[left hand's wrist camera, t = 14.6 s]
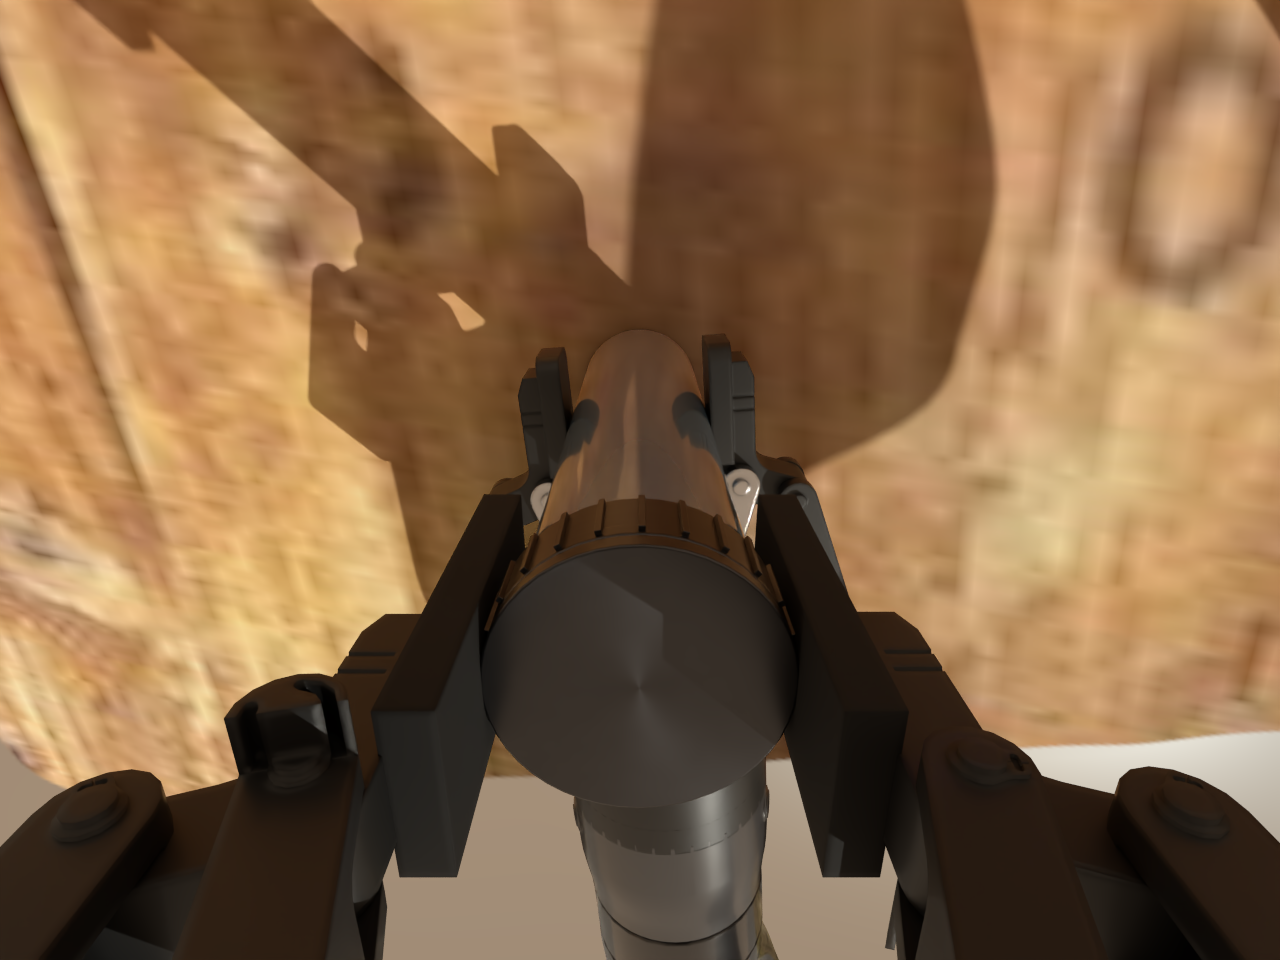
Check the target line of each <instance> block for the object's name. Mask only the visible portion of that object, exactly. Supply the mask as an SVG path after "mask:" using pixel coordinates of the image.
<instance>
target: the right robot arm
mask: <svg viewBox="0 0 1280 960" xmlns="http://www.w3.org/2000/svg"><path fill="white" fill-rule="evenodd" d="M702 357H703V379H704V401H705V410H706V413H707V417H708V420H709V423H710V426H711V430H712V433H713V436H714V439H715V443H716V446H717V449H718V452H719V456H720V459H721V462H722V465H723V469H724V472H725V475H726V478H727V482H728V485H729V488H730V491H731V495H732V498H733V501H734V504H735V507H736V511H737V514H738V517H739V520H740V524H741V527H742V530H743V533H744V537H745V536H746V532H747V529H748V526H749V523H750V520H751V516H752V513H753V510H754V507H755V504H758V494H795V495H796V497H797V498H798V500H799V502H800V504H801V506H802V508H803V510H804V512H805V514H806V516H807V517H808V519H809V521H810V523H811V525H812V527H813V529H814V531H815V533H816V535H817V537H818V538H819V540H820V542H821V544H822V546H823V548H824V550H825V552H826V554H827V556H828V558H829V559H830V561H831V563H832V565H833V567H834V569H835V571H836V573H837V575H838V577H839V578H840V580H841V582H842V584H843V586H844V588H845V590H846V592H847V589H846V586H845V583H844V579H843V576H842V573H841V570H840V567H839V563H838V560H837V557H836V554H835V551H834V547H833V544H832V541H831V538H830V535H829V532H828V528H827V525H826V522H825V519H824V516H823V512H822V509H821V506H820V503H819V500H818V496H817V494H816V491H815V490H814V488H813V486H812V485H811V484H810V483H809V482H808V481H807V479H806V478H805V475H804V472H803V470H802V468H801V466H800V465H799V463H798V462H797V461H796V460H795V459H793V458H790V457H780V458H777V459H774V458H770V457H767V456H764V455H761V454H759V453H758V452H756V450H755V409H754V408H755V397H754V375H753V373H752V371H751V369H750V366H749V364H748V362H747V360H746V358H745V357H744V355H743V354H742V352H741V351H738V352H731V347H730V342H729V340H728V339H727V337H726V335H725V334H715V335H702ZM518 399H519V406H520V413H521V420H522V425H523V433H524V440H525V446H526V453H527V460H528V467H529V471H527V472H526V473H524V474H523V475H520V476H518V477H516V478H513V479H512V478H505V479H501V480H499V481H498V482H497V483H496V484H495V485H494V487H493V489H492V491H491V493H490V494H521V499H522V514H523V526H524V525H527V524H529V523H531V522H534V521H536V520H539V522H540V519H541V515H542V512H543V509H544V506H545V503H546V499H547V496H548V493H549V490H550V487H551V483H552V480H553V477H554V474H555V470H556V467H557V464H558V461H559V458H560V454H561V451H562V448H563V445H564V442H565V438H566V435H567V432H568V429H569V426H570V422H571V419H572V416H573V407H572V399H571V390H570V382H569V374H568V365H567V357H566V352H565V348H564V347H558V348H545V349H542V350H541V351H540V353H539V354H538V356H537V357H536V368H529V369H528V371H527V372H526V374H525V375H524V377H523V379H522V382H521V386H520V390H519V394H518ZM847 594H848V592H847ZM848 596H849V595H848ZM573 809H574V815H575V820H576V825H577V826H578V828H579V830H580V835H581V840H582V845H583V850H584V853H585V856H586V859H587V862H588V866H589V869H590V871H591V874H592V877H593V881H594V886H595V891H596V898H597V905H598V912H599V919H600V927H601V936H602V941H603V946H604V950H605V954H606V959H607V960H779V959H778V957H777V954H776V952H775V950H774V947H773V944H772V942H771V939H770V936H769V934H768V932H767V929H766V927H765V925H764V924H763V921H762V875H761V865H762V858H763V853H764V848H765V841H766V825H767V818H768V812H769V790H768V787H767V785H766V757H765V758H764V759H763V760H762V761H761V762H760V763H759V764H758V765H757V766H756V767H754V768H753V769H752V770H751V771H749V772H748V773H747V774H746V775H744V776H743V777H741V778H740V779H738V780H737V781H735V782H733V783H732V784H730V785H729V786H727V787H725V788H722V789H720V790H718V791H716V792H714V793H712V794H709V795H707V796H704V797H701V798H698V799H695V800H692V801H688V802H684V803H680V804H675V805H668V806H661V807H646V808H632V807H617V806H611V805H605V804H599V803H595V802H592V801H588V800H584V799H581V798H578V797H574V804H573Z"/></svg>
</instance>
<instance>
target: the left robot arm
mask: <svg viewBox="0 0 1280 960" xmlns="http://www.w3.org/2000/svg"><path fill="white" fill-rule="evenodd" d="M524 549H525V543H524V528H523V514H522V499H521V494H484V496H483V498H482V500H481V501H480V503H479V505H478V507H477V509H476V511H475V513H474V515H473V517H472V519H471V520H470V522H469V524H468V526H467V528H466V530H465V532H464V534H463V536H462V538H461V540H460V541H459V543H458V545H457V547H456V549H455V551H454V553H453V555H452V557H451V559H450V561H449V562H448V564H447V566H446V568H445V570H444V572H443V574H442V576H441V578H440V580H439V581H438V583H437V585H436V587H435V589H434V591H433V593H432V595H431V597H430V599H429V601H428V602H427V604H426V606H425V608H424V610H423V612H422V614H385V615H384V616H382V617H381V618H380V619H378V620H377V621H376V622H374V623H373V624H372V625H370V626H369V627H368V628H366V629H365V630H364V631H362V632H361V634H360V636H359V637H358V639H357V640H356V642H355V643H354V645H353V646H352V648H351V650H350V651H349V656H346V657H345V659H344V661H343V662H342V664H341V665H340V667H339V668H338V673H337V674H335V675H334V676H333V677H330V676H327V675H323V674H297V675H293V676H289V677H285V678H281V679H276V680H274V681H271V682H269V683H267V684H265V685H263V686H260V687H258V688H256V689H254V690H252V691H251V692H249V693H248V694H247V695H245V696H244V697H243V698H241V699H240V700H239V701H237V702H236V703H235V704H234V705H233V707H232V708H231V709H230V711H229V712H228V714H227V715H226V716H225V718H224V721H225V725H226V728H227V732H228V736H229V739H230V743H231V747H232V750H233V754H234V758H235V761H236V765H237V769H238V772H239V777H238V779H235V780H232V781H229V782H225V783H222V784H219V785H215V786H211V787H206V788H202V789H198V790H194V791H189V792H185V793H181V794H177V795H172V796H168V797H166V796H165V793H164V790H163V787H162V783H161V781H160V780H158V779H157V778H156V777H155V776H154V775H153V774H152V773H150V772H145V771H139V770H133V769H131V770H123V771H116V772H109V773H105V774H102V775H99V776H96V777H94V778H91V779H88V780H85V781H82V782H80V783H78V784H76V785H74V786H72V787H71V788H69V789H67V790H65V791H63V792H61V793H60V794H58V795H56V796H54V797H53V798H52V799H50V800H49V801H48V802H47V803H46V804H44V805H43V806H42V807H41V808H39V809H38V810H37V811H36V812H35V813H33V814H32V815H31V816H30V817H29V818H28V819H27V820H26V821H25V822H24V823H23V824H22V825H21V826H20V827H19V828H18V829H17V830H16V831H15V832H14V833H13V835H12V836H11V837H10V838H9V839H8V840H7V841H6V842H5V843H4V844H3V845H2V846H1V847H0V960H382V959H383V947H384V936H385V925H386V913H387V904H386V897H385V890H384V885H383V877H384V874H385V872H386V869H387V866H388V864H389V861H390V858H391V856H392V853H393V850H394V848H395V854H396V860H397V865H398V871H399V877H457V875H458V871H459V867H460V864H461V860H462V856H463V852H464V849H465V845H466V841H467V838H468V834H469V830H470V826H471V823H472V819H473V815H474V811H475V808H476V804H477V800H478V797H479V793H480V789H481V785H482V782H483V778H484V774H485V771H486V767H487V763H488V759H489V756H490V752H491V748H492V745H493V741H494V737H495V731H494V729H493V727H492V725H491V723H490V721H489V719H488V716H487V713H486V710H485V707H484V702H483V693H482V683H481V672H480V662H481V656H482V649H483V646H484V643H485V640H486V637H487V636H485V635H484V629H485V626H486V623H487V620H488V618H489V615H490V612H491V609H492V606H493V604H494V601H495V598H496V595H497V593H498V592H499V590H500V587H501V584H502V581H503V579H504V576H505V573H506V570H507V568H508V565H509V563H510V561H511V560H512V561H514V562H516V561H517V559H518V558H519V556H520V555H521V554H522V552H523V551H524ZM755 551H756V552H757V553H758V554H759V556H760V558H761V559H762V561H763V562H764V564H765V565H768V564H771V566H772V568H773V571H774V574H775V576H776V579H777V582H778V585H779V587H780V590H781V593H782V596H783V599H784V601H785V604H786V605H785V607H786V610H787V613H788V615H789V618H790V621H791V624H792V627H793V629H794V632H795V640H794V643H795V647H796V650H797V654H798V662H799V678H798V689H797V698H796V705H795V708H794V711H793V713H792V716H791V719H790V722H789V724H788V726H787V727H786V729H785V731H784V735H785V739H786V742H787V746H788V750H789V754H790V757H791V761H792V765H793V768H794V772H795V776H796V780H797V783H798V787H799V791H800V794H801V798H802V802H803V806H804V809H805V813H806V817H807V820H808V824H809V828H810V832H811V835H812V839H813V843H814V846H815V850H816V854H817V857H818V861H819V865H820V869H821V872H822V876H823V877H880V874H881V869H882V863H883V857H884V851H885V846H886V848H887V851H888V853H889V856H890V859H891V861H892V864H893V867H894V869H895V872H896V875H897V877H898V880H897V885H896V890H895V896H894V901H893V906H892V912H891V917H890V922H889V928H888V933H887V940H886V946H885V948H887V949H892V950H894V949H895V944H896V946H897V957H898V960H1280V843H1279V842H1278V841H1277V840H1276V839H1275V838H1274V837H1273V836H1272V835H1271V834H1270V833H1269V832H1268V831H1267V830H1266V829H1265V828H1264V827H1263V826H1262V824H1261V823H1260V822H1259V821H1258V820H1257V819H1256V818H1255V817H1254V816H1253V815H1252V814H1251V813H1250V812H1249V811H1247V810H1246V809H1245V808H1244V807H1242V806H1241V805H1240V804H1239V803H1238V802H1236V801H1235V800H1234V799H1233V798H1231V797H1230V796H1229V795H1228V794H1227V793H1225V792H1223V791H1221V790H1219V789H1217V788H1216V787H1214V786H1212V785H1210V784H1208V783H1206V782H1205V781H1203V780H1201V779H1199V778H1196V777H1193V776H1190V775H1187V774H1184V773H1181V772H1178V771H1175V770H1172V769H1164V768H1157V767H1150V766H1148V767H1143V768H1136V769H1130V770H1129V771H1128V772H1127V773H1125V774H1124V775H1123V776H1122V777H1121V778H1120V779H1119V782H1118V785H1117V788H1116V791H1115V794H1111V793H1107V792H1103V791H1099V790H1094V789H1090V788H1086V787H1081V786H1077V785H1072V784H1069V783H1064V782H1060V781H1057V780H1054V779H1051V778H1047V777H1044V776H1042V775H1041V773H1040V772H1039V770H1038V769H1037V767H1036V765H1035V764H1034V762H1033V761H1032V759H1031V758H1030V757H1029V756H1028V755H1027V754H1025V753H1024V752H1023V751H1022V750H1021V749H1020V748H1018V747H1017V746H1016V745H1015V744H1014V743H1012V742H1010V741H1008V740H1006V739H1004V738H1002V737H1000V736H998V735H996V734H994V733H992V732H988V731H984V730H982V728H981V727H980V725H979V723H978V722H977V720H976V719H975V717H974V716H973V714H972V713H971V711H970V709H969V708H968V706H967V705H966V703H965V702H964V700H963V699H962V697H961V695H960V694H959V692H958V691H957V689H956V688H955V686H954V685H953V683H952V682H951V680H950V678H949V677H948V675H947V674H946V672H945V671H942V666H941V664H940V663H939V661H938V660H937V658H936V657H935V655H934V654H931V649H930V647H929V646H928V644H927V643H926V641H925V640H924V638H923V637H922V635H921V633H920V632H919V630H918V629H917V628H915V627H914V626H913V625H911V624H910V623H909V622H907V621H906V620H905V619H903V618H902V617H900V616H899V615H898V614H896V613H895V612H857V611H856V609H855V607H854V605H853V603H852V601H851V599H850V598H849V596H848V594H847V592H846V590H845V588H844V586H843V584H842V582H841V580H840V578H839V577H838V575H837V573H836V571H835V569H834V567H833V565H832V563H831V561H830V559H829V558H828V556H827V554H826V552H825V550H824V548H823V546H822V544H821V542H820V540H819V538H818V537H817V535H816V533H815V531H814V529H813V527H812V525H811V523H810V521H809V519H808V517H807V516H806V514H805V512H804V510H803V508H802V506H801V504H800V502H799V500H798V498H797V497H796V495H795V494H758V508H757V522H756V537H755Z"/></svg>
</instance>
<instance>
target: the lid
mask: <svg viewBox="0 0 1280 960" xmlns="http://www.w3.org/2000/svg"><path fill="white" fill-rule="evenodd" d="M785 605H786V604H785V601H784V599H783V596H782V593H781V590H780V587H779V585H778V582H777V579H776V576H775V574H774V571H773V568H772V566H771V564H768V565H765V564H764V562H763V561H762V559H761V558H760V556H759V554H758V553H757V552H756V551H755V549H754V546H753V542H752V539H751V538H750V537H749V536H746V537H745V538H743V537H742V536H741V535H740V534H739V533H737V532H736V531H735V530H734V529H733V528H731V527H730V526H728V525H727V524H725V523H724V522H723V519H722V516H720V515H718V514H716V515H715V516H712V515H710V514H707V513H705V512H703V511H701V510H699V509H696V508H693V507H690V506H687V505H686V501H683V500H679V502H678V503H675V502H670V501H665V500H659V499H645V495H639V497H638V498H637V499H620V500H614V501H608V502H605V499H600V500H598V504H596V505H593V506H589V507H586V508H583V509H581V510H578V511H576V512H574V513H572V514H568V513H567V512H565V513H563V514H561V517H560V520H559V521H557V522H555V523H554V524H552V525H550V526H549V527H548V528H547V529H545V530H544V531H543V532H542V533H540V534H539V535H537V534H536V533H534V534H533V535H532V536H531V537H530V540H529V543H528V546H527V547H526V548H525V549H524V551H523V552H522V554H521V555H520V556H519V558H518V559H517V561H516V562H514V561H512V560H511V561H510V563H509V565H508V568H507V570H506V573H505V576H504V579H503V581H502V584H501V587H500V590H499V592H498V593H497V595H496V598H495V601H494V604H493V606H492V609H491V612H490V615H489V618H488V620H487V623H486V626H485V629H484V635H485V636H487V637H486V640H485V643H484V646H483V649H482V656H481V662H480V672H481V683H482V693H483V702H484V707H485V710H486V713H487V716H488V719H489V721H490V723H491V725H492V727H493V729H494V731H495V733H496V735H497V736H498V738H499V739H500V741H501V742H502V743H503V745H504V746H505V748H506V749H507V750H508V751H509V752H510V753H511V755H512V756H513V757H514V758H515V759H516V760H517V761H518V762H519V763H520V764H521V765H523V766H524V767H525V768H526V769H527V770H528V771H530V772H531V773H532V774H533V775H535V776H536V777H538V778H539V779H541V780H542V781H544V782H545V783H547V784H549V785H551V786H553V787H555V788H557V789H559V790H561V791H563V792H565V793H568V794H570V795H573V796H575V797H578V798H581V799H584V800H588V801H592V802H595V803H599V804H605V805H611V806H617V807H632V808H646V807H661V806H668V805H675V804H680V803H684V802H688V801H692V800H695V799H698V798H701V797H704V796H707V795H709V794H712V793H714V792H716V791H718V790H720V789H722V788H725V787H727V786H729V785H730V784H732V783H733V782H735V781H737V780H738V779H740V778H741V777H743V776H744V775H746V774H747V773H748V772H749V771H751V770H752V769H753V768H754V767H756V766H757V765H758V764H759V763H760V762H761V761H762V760H763V759H764V758H765V757H766V756H767V755H768V754H769V753H770V752H771V750H772V749H773V748H774V746H775V745H776V744H777V742H778V741H779V740H780V738H781V737H782V735H783V733H784V731H785V729H786V727H787V726H788V724H789V722H790V719H791V716H792V713H793V711H794V708H795V705H796V698H797V689H798V678H799V662H798V654H797V650H796V647H795V643H794V640H795V632H794V629H793V627H792V624H791V621H790V618H789V615H788V613H787V610H786V607H785Z"/></svg>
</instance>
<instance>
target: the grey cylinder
mask: <svg viewBox="0 0 1280 960" xmlns="http://www.w3.org/2000/svg"><path fill="white" fill-rule="evenodd" d="M639 495H645V499H659V500H665V501H670V502H675V503H678V502H679V500H683V501H686V505H687V506H690V507H693V508H696V509H699V510H701V511H703V512H705V513H707V514H710V515H712V516H715V515H716V514H718V515H720V516H722V519H723V522H724V523H725V524H727V525H728V526H730V527H731V528H733V529H734V530H735V531H736V532H737V533H739V534H740V535H741V536H742V537H743V538H745V537H744V533H743V530H742V527H741V524H740V520H739V517H738V514H737V511H736V507H735V504H734V501H733V498H732V495H731V491H730V488H729V485H728V482H727V478H726V475H725V472H724V469H723V465H722V462H721V459H720V456H719V452H718V449H717V446H716V443H715V439H714V436H713V433H712V430H711V426H710V423H709V420H708V417H707V413H706V410H705V407H704V404H703V400H702V397H701V394H700V391H699V388H698V384H697V381H696V378H695V375H694V371H693V368H692V365H691V363H690V360H689V358H688V357H687V355H686V353H685V352H684V351H683V349H682V348H681V347H680V346H679V345H678V344H677V343H676V342H675V341H673V340H672V339H671V338H669V337H667V336H665V335H663V334H661V333H658V332H655V331H651V330H643V329H637V330H629V331H625V332H622V333H619V334H617V335H615V336H613V337H611V338H610V339H608V340H607V341H605V342H604V343H603V344H602V345H601V346H600V347H599V348H598V349H597V350H596V352H595V353H594V355H593V356H592V358H591V360H590V362H589V365H588V368H587V371H586V374H585V377H584V381H583V384H582V387H581V390H580V393H579V397H578V400H577V403H576V406H575V409H574V413H573V416H572V419H571V422H570V426H569V429H568V432H567V435H566V438H565V442H564V445H563V448H562V451H561V454H560V458H559V461H558V464H557V467H556V470H555V474H554V477H553V480H552V483H551V487H550V490H549V493H548V496H547V499H546V503H545V506H544V509H543V512H542V515H541V519H540V522H539V525H538V528H537V531H536V534H537V535H539V534H540V533H542V532H543V531H544V530H545V529H547V528H548V527H549V526H550V525H552V524H554V523H555V522H557V521H559V520H560V517H561V514H563V513H565V512H567V513H568V514H572V513H574V512H576V511H578V510H581V509H583V508H586V507H589V506H593V505H596V504H598V500H600V499H605V502H608V501H614V500H620V499H637V498H638V497H639Z"/></svg>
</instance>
